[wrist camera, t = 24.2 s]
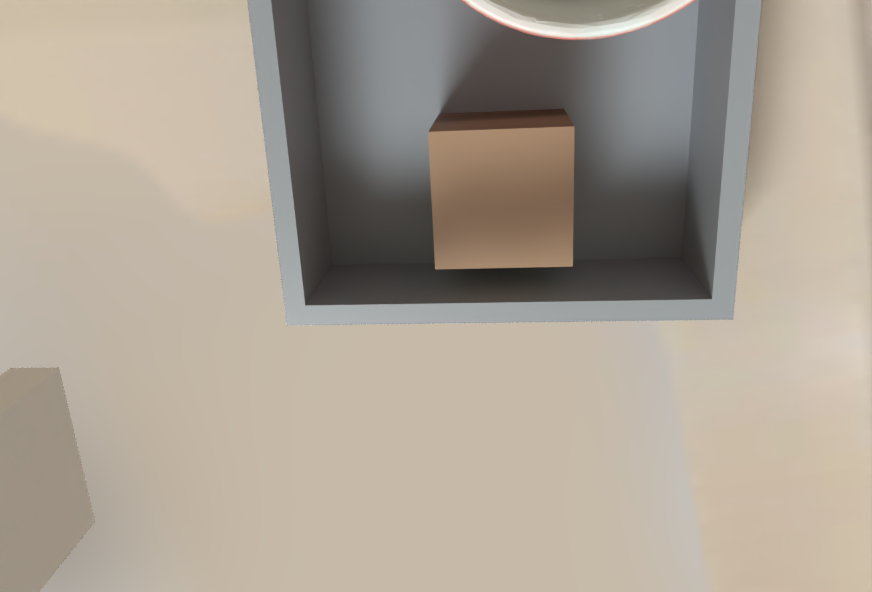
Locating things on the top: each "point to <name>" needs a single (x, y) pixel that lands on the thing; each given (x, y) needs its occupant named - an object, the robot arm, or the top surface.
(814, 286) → the top surface
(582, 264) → the tote
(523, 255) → the cube
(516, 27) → the mug
